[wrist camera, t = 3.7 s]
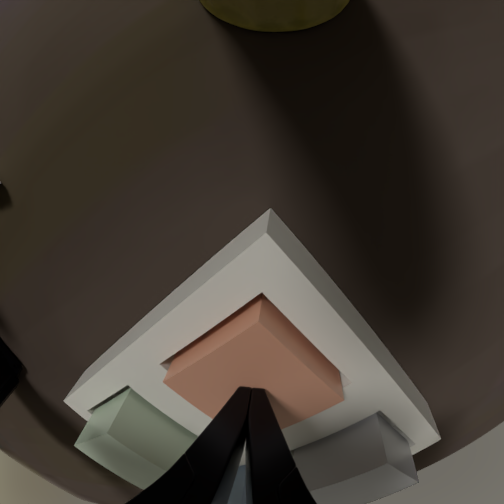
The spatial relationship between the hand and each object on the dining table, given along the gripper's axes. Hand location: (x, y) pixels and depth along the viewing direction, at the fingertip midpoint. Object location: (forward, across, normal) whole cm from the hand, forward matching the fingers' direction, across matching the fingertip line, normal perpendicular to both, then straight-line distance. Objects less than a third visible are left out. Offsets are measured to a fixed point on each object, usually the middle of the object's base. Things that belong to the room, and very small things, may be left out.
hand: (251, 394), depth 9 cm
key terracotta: (+3, 0, 0) cm, 3 cm away
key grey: (+1, -5, +5) cm, 8 cm away
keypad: (+4, 0, +5) cm, 7 cm away
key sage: (+1, +5, +5) cm, 8 cm away
